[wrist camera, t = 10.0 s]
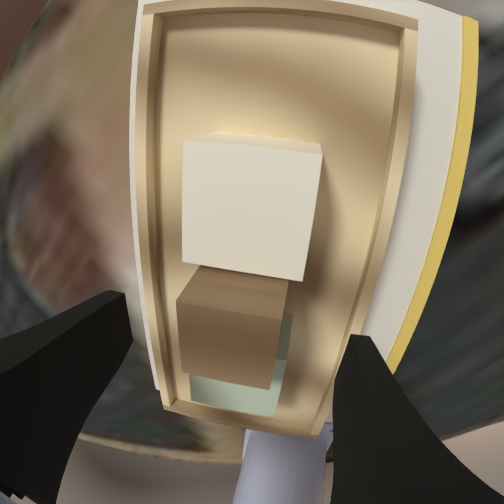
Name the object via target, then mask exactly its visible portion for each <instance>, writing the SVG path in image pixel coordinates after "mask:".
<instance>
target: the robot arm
mask: <svg viewBox="0 0 504 504" xmlns="http://www.w3.org/2000/svg"><path fill="white" fill-rule="evenodd" d="M132 341H133V337H132V332H131V327H130V321H129V316H128V310H127V304H126V298H125V293H121V292H117V291H113V290H108V291H106V292H103V293H101V294H99V295H97V296H95V297H92V298H90V299H88V300H86V301H84V302H82V303H80V304H78V305H76V306H74V307H72V308H70V309H68V310H66V311H64V312H62V313H61V314H59V315H57V316H54V317H52V318H50V319H48V320H46V321H44V322H41V323H39V324H37V325H35V326H33V327H31V328H28V329H26V330H23V331H21V332H18V333H16V334H13V335H10V336H7V337H4V338H1V339H0V504H16V503H15V502H14V501H12V500H11V499H10V497H11V495H12V493H13V494H14V495H16V496H17V497H18V498H20V499H23V498H24V496H26V497H28V498H29V499H31V500H32V501H33V502H35V503H37V504H56V500H57V496H58V491H59V488H60V484H61V480H62V477H63V474H64V471H65V468H66V465H67V462H68V459H69V457H70V454H71V452H72V449H73V447H74V444H75V442H76V439H77V437H78V435H79V433H80V431H81V429H82V426H83V424H84V422H85V420H86V418H87V417H88V415H89V413H90V411H91V410H92V408H93V407H94V405H95V404H96V402H97V401H98V399H99V397H100V396H101V394H102V393H103V391H104V390H105V388H106V387H107V385H108V384H109V382H110V381H111V379H112V378H113V376H114V375H115V373H116V372H117V370H118V369H119V367H120V366H121V364H122V362H123V360H124V358H125V356H126V354H127V352H128V350H129V348H130V346H131V343H132ZM332 416H333V423H330V422H325V423H324V425H323V427H322V429H321V431H320V433H319V436H318V438H317V439H311V438H302V437H294V436H287V435H279V434H273V433H267V432H261V431H255V430H249V429H246V432H245V440H244V448H243V456H242V458H243V459H244V460H243V464H242V468H241V472H240V476H239V480H238V484H237V488H236V492H235V495H234V500H233V503H232V504H322V501H323V491H324V478H325V463H326V452H327V450H328V449H329V447H330V445H331V443H332V442H333V452H334V474H333V476H334V477H333V487H332V494H331V502H330V504H504V496H502V495H501V494H499V493H498V492H496V491H495V490H494V489H492V488H491V487H489V486H488V485H487V484H485V483H484V482H483V481H482V480H481V479H479V478H478V477H477V476H476V475H475V474H473V473H472V472H471V471H470V470H469V469H468V468H467V467H466V466H464V464H462V463H461V462H460V461H459V460H458V459H457V458H456V456H455V455H453V454H452V453H451V451H450V450H449V449H448V448H447V447H446V446H445V445H444V444H443V443H442V442H441V441H440V440H439V438H438V437H437V436H436V435H435V434H434V432H433V431H432V430H431V429H430V428H429V426H428V425H427V424H426V423H425V421H424V420H423V419H422V417H421V416H420V415H419V413H418V412H417V411H416V409H415V408H414V406H413V405H412V404H411V402H410V401H409V399H408V398H407V396H406V395H405V393H404V392H403V390H402V388H401V387H400V385H399V384H398V382H397V381H396V379H395V377H394V376H393V374H392V372H391V371H390V369H389V367H388V366H387V364H386V362H385V361H384V359H383V357H382V356H381V354H380V352H379V350H378V349H377V347H376V345H375V344H374V342H373V340H372V339H371V337H370V336H365V335H357V334H350V337H349V340H348V343H347V346H346V349H345V352H344V355H343V357H342V360H341V363H340V366H339V369H338V371H337V374H336V377H335V379H334V392H333V405H332Z"/></svg>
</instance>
